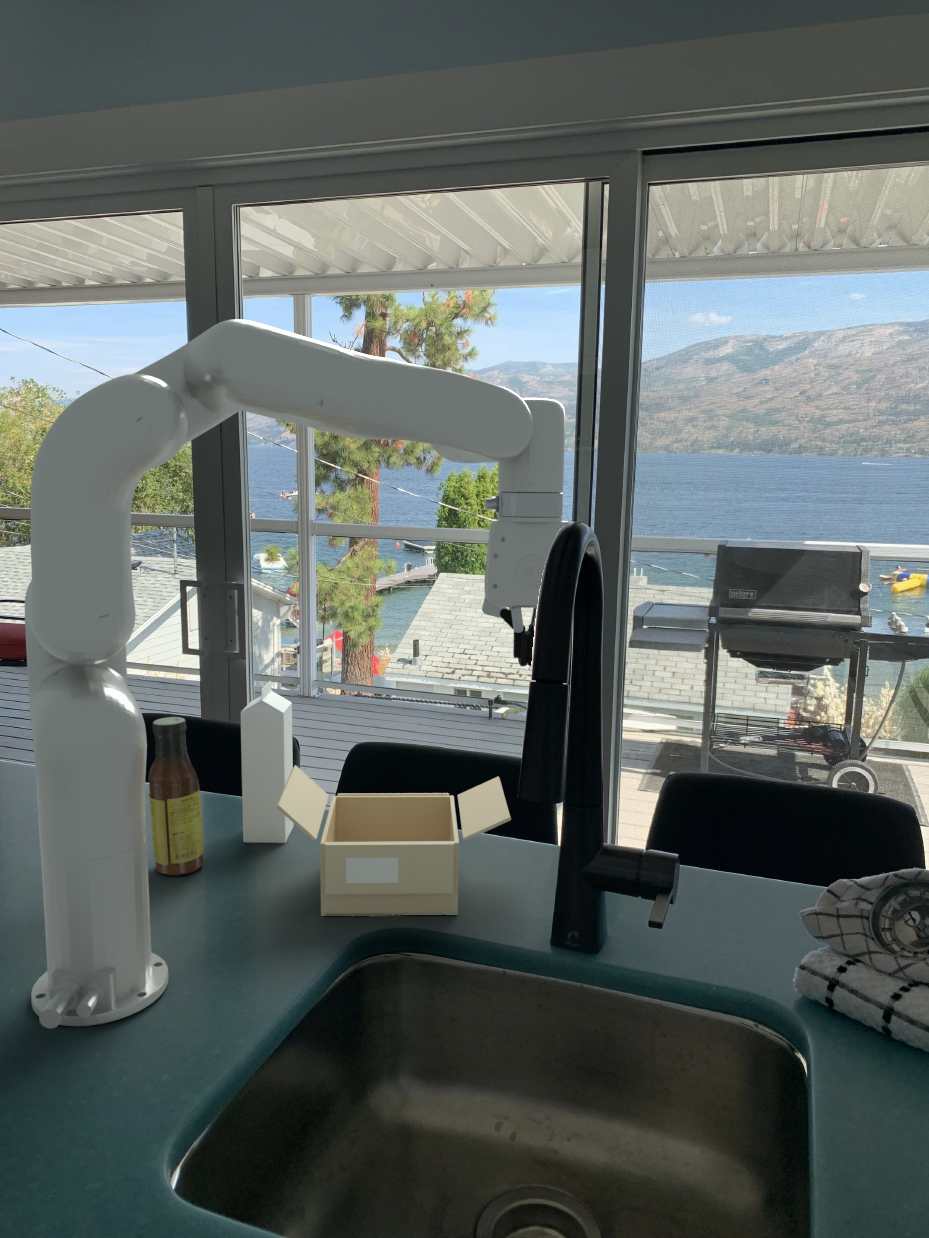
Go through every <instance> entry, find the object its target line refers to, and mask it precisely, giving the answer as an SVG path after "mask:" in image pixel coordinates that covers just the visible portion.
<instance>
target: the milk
mask: <svg viewBox="0 0 929 1238" xmlns="http://www.w3.org/2000/svg"><path fill="white" fill-rule="evenodd" d="M260 694H261V695H260V696H258V697H256V698H254V699H253V700H252V701H250V702H249V703H248V704H247V705H246V706H245V707H244V708H243V709H242V710H241V711H240V746H241V747H240V748H241V750H240V753H241V788H242V789H241V791H242V793H241V795H242V797H241V799H242V800H241V801H242V834H243V835H242V838H243V843H251V844H252V843H253V844H254V843H256V844H257V843H259V844H263V843H264V844H267V843H268V844H270V843H271V844H286V843H287V841H288V839H289V837H290V834H291V833H292V831H293V829H294V825H295V824H294V823H293V822H292V821H291V820H290V819H288V818H287V817H286V816H285V815H284V814H283V813H282V812H281V811H280V810H278V809H277V808H276V806H277V803H278V801H279V799H280V796H281V794H282V792H283V790H284V787H285V785H286V783H287V780H288V778H289V776H290V773H291V771H292V769H293V767H294V766H293V765H294V763H293V762H294V760H293V757H294V756H293V755H294V754H293V703H292V701H290V700H288V699H287V698H285V697H283V696H281V695H280V694H278V693H276V692H275V691H273V690H272V681H271V680H269V681H268V682H267V683H266V684H265V685H264V686H263V687H262V688H261V691H260Z"/></svg>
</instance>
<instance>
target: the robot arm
mask: <svg viewBox="0 0 929 1238" xmlns="http://www.w3.org/2000/svg"><path fill="white" fill-rule="evenodd" d="M241 411H242V412H246V413H250V414H255V415H259V416H261V417H262V416H263V417H266V418H271V419H275V420H280V421H284V422H288V423H291V424H296V425H300V426H304V427H307V428H312V429H314V430H319V431H322V432H327V433H331V434H334V435H338V436H343V437H347V438H348V437H349V438H356V439H362V440H363V439H364V440H393V441H394V440H395V441H396V440H398V441H399V440H400V441H409V442H416V443H422V444H429V445H430V446H431V448H432V449H433V450H434V451H435V453H437V454H438V455H439V456H440V457H442V458H444V459H445V460H447V461H450V462H453V463H458V464H459V463H460V464H477V463H478V464H479V463H498V469H497V472H498V473H497V475H498V477H497V479H498V481H497V493H496V495H494V496H491V497H485V498H484V499H485V500H484V509H485V510H491V511H493V512H495V513H496V515H497V519H492V520H491V522H490V527H489V532H488V541H487V546H486V555H485V568H484V599H483V603H482V606H481V610H482V613H483V614H485V615H487V616H491V617H495V618H500V619H502V620H503V621H504V622H505V623H506V624H507V625H508V626H509V627H510V628H511V629H512V630H513V652H512V653H513V655H512V656H513V658H514V659H518V661H517V662H518V663H519V666H520V667H526V666H528V667H532V666H531V661H532V647H533V637H534V626H535V618H536V609H537V604H538V596H539V589H540V586H541V579H542V573H543V570H544V565H545V561H546V559H547V556H548V553H549V550H550V548H551V545H552V542H553V540H554V538H555V536H556V534H557V532H558V531H559V529H560V528H562V527H563V526H565V525H568V524H570V521H568V520H563V504H564V502H563V501H564V477H565V476H564V473H565V472H564V471H565V443H566V442H565V436H566V412H565V407H564V406H563V404H562V403H561V402H560V401H558V400H555V399H552V398H551V399H550V398H542V397H540V398H539V397H523V398H522V397H521V396H520V395H518V394H517V393H516V392H514V391H513V390H511V389H509V388H506V387H504V386H501V385H498V384H494V383H492V382H488V381H486V380H482V379H479V378H475V377H471V376H470V375H469V376H468V375H465V374H463V373H462V374H461V373H459V372H458V373H457V372H454V371H451V370H444V369H440V368H436V367H431V366H425V365H419V364H415V363H410V362H409V363H408V362H404V361H401V360H395V359H392V358H387V357H381V356H374V355H370V354H366V353H362V352H359V351H355V350H352V349H348V348H344V347H342V346H341V347H340V346H338V345H333V344H330V343H327V342H324V341H320V340H317V339H314V338H310V337H307V336H303V335H301V334H297V333H294V332H291V331H287V330H283V329H281V328H278V327H274V326H270V325H267V324H265V323H261V322H257V321H253V320H249V319H239V318H238V319H237V318H236V319H235V318H234V319H227V320H223V321H220V322H218V323H217V324H214V325H213V326H211V327H209V328H208V329H206V330H205V331H204V332H202V333H200V334H199V335H198V336H196V337H194V338H193V339H192V340H189V341H188V342H187V343H185V344H183V345H182V346H180V347H179V348H177V349H176V350H174V351H172V352H170V353H169V354H167V355H165V356H163V357H162V358H160V359H158V360H156V361H154V362H153V363H151V364H149V365H147V366H145V367H143V368H142V369H139V370H138V371H135V372H133V373H132V374H131V373H130V374H125V375H121V376H117V377H115V378H111V379H109V380H107V381H105V382H103V383H100V384H99V385H97V386H95V387H93V388H91V389H90V390H89V391H86V392H85V393H84V394H82V395H80V396H79V397H77V398H76V399H75V400H74V401H72V402H71V403H70V404H69V405H68V406H66V408H64V409H63V410H62V412H61V413H60V414H59V415H58V416H57V418H56V419H55V420H54V422H53V423H52V424H51V426H50V427H49V429H48V430H47V432H46V434H45V435H44V437H43V439H42V441H41V444H40V446H39V448H38V450H37V453H36V456H35V460H34V464H33V468H32V475H31V480H30V482H31V483H30V560H31V563H30V564H31V565H30V566H31V580H30V582H29V585H28V586H27V589H26V591H25V597H24V627H25V646H26V647H25V648H26V666H27V667H26V668H27V683H28V697H29V698H28V699H29V701H28V703H29V714H30V720H31V730H32V737H33V741H32V742H33V751H34V752H33V753H34V765H35V766H34V767H35V776H36V777H35V778H36V779H35V780H36V800H37V815H38V816H37V819H38V820H37V821H38V834H39V835H38V836H39V837H38V839H39V850H40V864H41V866H40V867H41V876H42V877H41V878H42V879H41V882H42V897H43V898H42V899H43V913H44V914H43V915H44V931H45V932H44V933H45V947H46V948H45V949H46V966H47V967H46V968H47V969H46V971H45V972H44V973H43V974H42V975H41V976H40V977H39V978H38V979H37V981H36V982H35V983H34V984H33V986H32V989H31V991H30V992H31V995H30V998H31V1008H32V1010H33V1012H34V1013H35V1014H36V1015H37V1016H38V1018H39V1020H38V1021H39V1023H40V1024H41V1026H42V1027H44V1028H46V1029H55V1028H58V1026H66V1027H90V1026H95V1025H103V1024H107V1023H112V1022H115V1021H119V1020H121V1019H124V1018H126V1017H127V1018H128V1017H129V1016H132V1015H134V1014H136V1013H138V1012H140V1011H142V1010H144V1009H146V1008H147V1007H148V1006H150V1005H151V1004H153V1003H154V1002H155V1001H156V1000H157V999H159V998H160V996H161V995H162V994H163V993H164V991H165V990H166V989H167V986H168V984H169V967H168V964H167V963H166V961H165V960H164V959H163V958H162V957H160V956H159V955H158V954H156V953H154V952H152V942H151V941H152V940H151V939H152V938H151V936H152V935H151V916H150V915H151V914H150V913H151V912H150V887H149V886H150V885H149V883H150V882H149V863H148V860H149V859H148V839H147V838H148V835H147V819H146V817H147V816H146V815H147V814H146V813H147V812H146V776H147V754H148V752H147V749H148V742H147V741H148V740H147V731H146V730H147V729H146V724H145V720H144V717H143V714H142V711H141V708H140V705H139V704H138V702H137V701H136V699H135V697H134V696H133V694H132V692H131V691H130V690H129V687H128V667H127V665H128V664H127V659H128V658H127V644H128V642H129V640H130V639H131V637H132V635H133V631H134V628H135V622H136V604H135V598H134V587H133V571H132V569H133V568H132V550H131V549H132V548H131V535H132V534H131V532H132V505H133V500H134V499H133V498H134V495H135V491H136V488H138V484H139V483H140V481H141V479H142V478H143V477H144V476H145V474H146V473H148V471H149V470H151V469H153V468H154V469H155V468H156V467H159V466H163V465H164V464H166V463H167V462H168V461H171V459H173V458H174V457H175V456H177V455H178V453H179V452H180V450H181V448H182V447H183V446H184V445H185V444H187V443H189V442H191V441H193V440H194V439H196V438H198V437H200V436H201V435H203V434H205V433H206V432H207V431H209V430H212V429H213V428H214V427H216V426H218V425H219V424H221V423H222V422H224V421H226V420H227V419H229V418H230V417H232V416H233V415H235V414H237V413H238V412H241ZM522 608H524V609H525V608H532V609H533V610H532V613H531V614H532V615H531V619H530V623H529V625H528V628H527V630H526V626H525V625H524V621H523V613H522Z"/></svg>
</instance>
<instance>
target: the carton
mask: <svg viewBox="0 0 929 1238" xmlns="http://www.w3.org/2000/svg"><path fill="white" fill-rule="evenodd" d="M455 805H456V804H455V796H454V795H450V793H448V792H442V793H441V792H432V793H431V792H430V793H429V792H422V793H421V792H418V793H417V792H413V793H412V792H408V793H407V792H405V793H404V792H403V793H400V792H398V793H397V792H396V793H392V792H391V793H390V792H389V793H388V792H387V793H384V792H382V793H380V792H379V793H376V792H375V793H374V792H373V793H372V792H371V793H369V792H368V793H366V792H365V793H360V792H359V793H355V792H353V793H347V792H346V793H343V792H341V793H337V795H333V796H332V798H331V802H330V805H329V811H328V814H327V817H326V821H325V824H324V829H323V832H322V836H321V840H320V843H319V846H320V848H319V851H320V852H319V853H320V855H319V856H320V859H319V860H320V861H319V862H320V863H319V864H320V867H319V868H320V917H321V916H352V917H351V918H353V916H369V917H376V916H375V915H392V914H394V915H404V914H444V913H447V914H458V915H459V871H460V870H459V869H460V868H459V867H460V866H459V864H460V862H459V861H460V860H459V859H460V858H459V857H460V855H459V854H460V840H459V832H458V823H457V813H456V806H455Z"/></svg>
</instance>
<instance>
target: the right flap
mask: <svg viewBox="0 0 929 1238" xmlns="http://www.w3.org/2000/svg"><path fill="white" fill-rule="evenodd" d="M504 793H505V792H504V789H503V786H502V782H501V778H500V777H499V776H496V777H494V778H492V779H490V780H487V781H485V782H483V783H481V784H479V785H476V786H474V787H472V788H470V789H467V790H466V791H463V792H461V793H459V794H457V802H458V808H459V816H460V818H459V819H460V825H461V826H460V827H461V832H462V839H463V841H464V842H466V841H468V840H470V839H472V838H473V839H474V837H477V836H479V835H481V834H483V833H486V832H488V831H490V830H492V829H495V828H498V826H499V827H500V826H501V825H503V824H505V823H508V822H510V821H511V820H512V817H511V814H510V811H509V807H508V804H507V800H506V797H505V794H504Z"/></svg>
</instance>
